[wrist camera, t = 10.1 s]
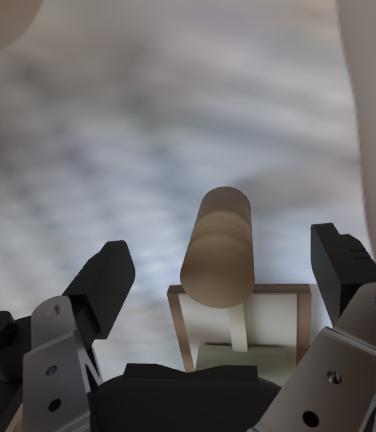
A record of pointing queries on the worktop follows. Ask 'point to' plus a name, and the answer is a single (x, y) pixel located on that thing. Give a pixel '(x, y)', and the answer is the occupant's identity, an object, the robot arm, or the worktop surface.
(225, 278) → the string block
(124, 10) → the worktop surface
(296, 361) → the lane
